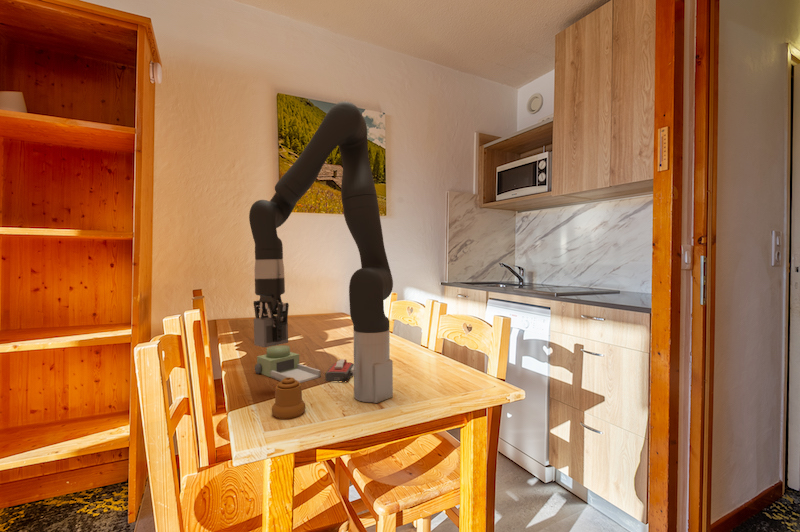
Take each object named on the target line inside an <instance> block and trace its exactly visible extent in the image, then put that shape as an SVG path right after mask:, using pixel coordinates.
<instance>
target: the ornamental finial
mask: <svg viewBox="0 0 800 532" xmlns="http://www.w3.org/2000/svg"><path fill="white" fill-rule="evenodd" d="M302 391H303V390H302V383H299V382H298V381H297V380H295V379H294V378H292V377H288V378H284V379H283V380H282V381H278V383H277V384H276V386H275V392H274V394H275V397H274V398H275V399H274V403H273V405H272V407H271V413H272V415H273V416H274V417H275V418H277V419H280V420H281V419H283V420H288V419H294V418H296V417H300V416H302V414H304V412H305V410H306V403H305V401H304V400H303V393H302Z"/></svg>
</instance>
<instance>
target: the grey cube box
mask: <svg viewBox="0 0 800 532" xmlns="http://www.w3.org/2000/svg"><path fill="white" fill-rule="evenodd" d="M275 321H276V319H275ZM282 321H283V317H282ZM288 322H289V321H288V317H287V324H286V325H284V326H283V327H282V340H281V341H280V342H273V326H272V320H271V319H269V317H264V318H260V317H259V318H256V317H255V318H253V340H254V341H253V342H254V343H253V344H254V346H257V347H259V348H268V347H271V346H277V345H285V344H288V343H289V324H288Z"/></svg>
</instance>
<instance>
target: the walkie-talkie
mask: <svg viewBox="0 0 800 532" xmlns="http://www.w3.org/2000/svg"><path fill="white" fill-rule="evenodd" d="M350 376H353V377H354V362H353V363H352V362H350V361H349V362H348V361H347V358H346V359H343V358H341V359H338V360H337V361H336V362H334V363H333V364H332V365H331V366H330V367H329V368H328V370H326V372H325V377H324V378H325V379H324V380H326V381H342V382H341V383H346V382H345V381H347V380H348V379H350ZM326 381H325V382H326ZM348 381H349V380H348ZM348 381H347V382H348Z"/></svg>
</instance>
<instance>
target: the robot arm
mask: <svg viewBox="0 0 800 532" xmlns="http://www.w3.org/2000/svg"><path fill="white" fill-rule="evenodd" d="M368 142H369V141H368V126H367V123H366V120H365V118H364V116H363V114H362V113H361V111H360V109H359V108H358V106H356V104H354V103H352V102H350V101H346V100H345V101H340V102H338V103H335V104H334V105H332V107H330V109H329V110H328V112H327V113H326V115H325V116H324V118H323V119H322V122H321V123H320V125H319V126H318V128H317V130H316V132H314V133H313V135H312V138H311V139H310V141H309V142H308V143H307V145H306V146H305V148H304V150H302V152H301V154H299V156H298V157H297V159H296V160H295V161H294V162H293V164H292V165H291V166H290V168H288V170H287V171H286V172H285V173H284V174H283V175H282V176H281V178H280V179H279V180H278V181H277V183H276V184H275V186H274V190H275V193H274V194H273V196H272V198H271V199H270V200H265V199H260V200H259V199H258V200H256V201H255V202H253V204H251V207H250V209H249V213H248V215H249V216H248V219H249V226H250V231H251V234H252V235H251V236H252V239H253V241H254V271H253V272H254V294H255V296H258V297H259V300H254V301H253V308H254V309H253V311H254V317H255V318H264V317H269V319H271V320H272V326H273V342H280V341H281V340H282V327H283V326H284V325H286V324H287V317H288V316H289V307H290V305H289V303H288V302H283V301H282V297H281V296H282V295H283V294H285V293H286V289H285V286H286V285H285V283H286V281H285V265H284V251H283V249H284V248H283V246H284V245H283V242H282V240H281V238H280V237H279V236H278V232H277V228H280V227H281V226H282V225H283V224H284V223H285V222H286V221H287V220H288V219H289V217H290V216H291V214H292V212H293V211H294V209H295V207H296V205H297V203H298V202H299V201H300V200H301V199H302V198H303V197H304V195H305V194H306V193H307V192H308V191H309V189H311V187H312V186H313V185H314V183H315V182H316V180H317V178H318V176H319V174H320V172H321V171H322V168H323V167H324V165H325V162H326V161H327V159H328V157H329V156H330V154H331V153H332V152H333V151H334V150H335V149H337V147H338V150H339V154H340V159H341V164H342V175H341V186H340V191H341V192H340V194H341V195H340V196H341V197H340V198H341V204H342V205H341V206H342V210H343V211H342V212H343V217H344V221H345V223H346V225H347V228H348V230H349V232H350V234H351V237H352V239H353V240H354V242H355V244H356V246H357V250H358V253H359V258H360V264H361V265H360V266H361V268H359V269H357V270H355V272H354V273H353V274H352V276H351V277H350V280H349V287H348V299H349V300H348V301H349V311H350V312H349V315H350V319H351V322H352V325H353V327H352V328H353V364H354V376H353V397H354V399H356V400H357V401H359V402H363V403H374V404H379V403H381V402H383V401H385V400H387V399H391V398H393V396H394V392H393V391H394V390H393V389H394V388H393V387H394V386H393V384H394V382H393V381H394V379H393V375H394V373H393V369H394V368H393V367H394V365H393V364H394V363H393V360H392V359H390V342H391V341H390V318H389V317H387V316H386V314H385V304H384V301H385V300H387V299H388V298H390V295H392V292H393V288H394V281H393V275H392V271H391V267H390V263H389V260H388V256H387V253H386V249H385V243H384V235H383V229H382V223H381V222H382V221H381V215H380V208H379V202H378V195H377V191H376V183H375V181H374V175H373V173H372V169H371V165H370V164H371V163H370V159H369V145H368ZM282 317H283V321H282ZM275 319H276V321H275Z"/></svg>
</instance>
